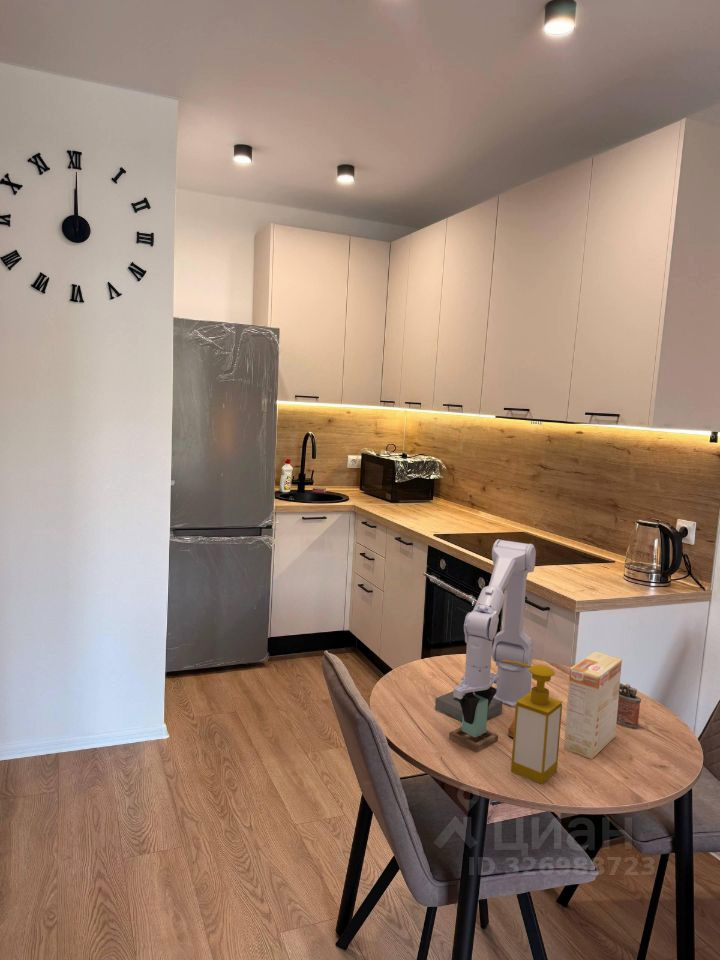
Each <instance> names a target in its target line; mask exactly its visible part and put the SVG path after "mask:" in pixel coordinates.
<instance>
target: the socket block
mask: <svg viewBox="0 0 720 960" xmlns="http://www.w3.org/2000/svg"><path fill="white" fill-rule="evenodd" d="M453 694H454V690H452V691H451V692H447V693H444V694H442V695H440V696H438V697H435V702H434V703H435V705H434V709H435V711H437V712H440V713H442V714H443V715H446V716H448V717H450V718H452V719H454V720H456V721H459V722H460V723H462V717H463V712H462V708H461V705H460V702H459V700H458V698H456V697H454V696H453ZM473 694H475V693H474V692H473ZM503 706H504V703H503V702H501V701H499V700H497V699H494V698H492V700H491V702H490V705H489V707H488V710H487V721H488V720H489V721H490V720H491V719H492V718H496V717H497V716H500V715H501V714H503Z"/></svg>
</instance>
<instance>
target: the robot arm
mask: <svg viewBox="0 0 720 960" xmlns="http://www.w3.org/2000/svg"><path fill="white" fill-rule="evenodd" d="M536 556H537V551H536V547H535V545H534V544H533V543H525V542H517V541H511V540H503V539H496V540H495V542H494V543H493V546H492V549H491V559H492V564H493V566H494V567H493V570H492V573H491V576H490V581H489V583H488V585H487V586H484V587H483V588H482V589H481V591H480V594H479V595H478V597H477V601H476V603H475V605H474V607H473V610H471V612H470V611H469V612H468V613H466V615H465V619H464V624H463V632H464V643H466V651H465V652H466V655H465V669H464V675H463V676H461V678H460V679H461V682H460V683H459V684H458V685H457V686H456V687H453V691H454V694H453V696H454V697H456V698H458V700H459V702H460V705H461V708H462V712H463V717H464V722H467V723H469V724H473V721H474V717H475V710H476V707H477V704H478V702H479V700H480V698H478V697H476V696H474V694H473V692H474V693H475V694H477V695H479V696H481V697H484V698H486V699H488V707H489V705H490V702H491V700H492V698H494V699H497V700H499V701H501V702H503V704H506V705H508V706H510V707H516V704H517V703H516V701H518V700H519V699H521V698H522V697H523V696H525V695H526V694H528V693H529V692H531V689H532V679H533V678H532V673H530V672H529V667H526V666H523V665H519V664H513V663H504V662H503V660H506V661H515V662H520V663H523V664H527V665H530V666H532V663H533V659H534V647H533V645H534V644H533V639H532V638H531V637H530V635H528V634H527V633H526V632H525V631H524V620H525V604H526V601H525V600H526V590H527V578H528V573H529V574H530V573H533V572H534V571H535V567H536V558H537V557H536ZM505 588H506V596H505V593H504V591H505ZM505 600H506V601H505ZM504 602H505V617H504V629H502V630H500V631H498V625H499V620H500V618H499V615H500V613H501V610H502V607H503V604H504ZM497 631H498V632H497ZM492 660H493V662H495V666H496V667H497V671H496V673H494V672H491V669H492ZM493 684H495V686H496V687H494V686H492V685H493Z"/></svg>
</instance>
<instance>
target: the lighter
mask: <svg viewBox="0 0 720 960" xmlns="http://www.w3.org/2000/svg"><path fill="white" fill-rule="evenodd" d="M637 691H638V689H637V688H635V687H632V686H631V685H630V684H628V683H626V684H623V683H622V682H620V687H619V699H618V711H617V722H616V725H618V726H621V727H623V728H628V729H632V730H638V729H639V728H640V727H639V726H640V725H639V720H640V719H639V718H640V717H639V716H640V707H641V703H642V698H641V697H640V696H638V695H637V693H638V692H637Z"/></svg>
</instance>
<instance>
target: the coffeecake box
mask: <svg viewBox="0 0 720 960" xmlns="http://www.w3.org/2000/svg"><path fill="white" fill-rule="evenodd" d="M622 661H623V659H622V658H619V657H615V656H611V655H609V654H606V653H602V652H599V651H594V652H592V653H590V654H589V655H587V656H586V657H585V658H583V659H581V660H579V662H577V663H576V664H575V665H574V664H573V666H571V667H570V668H569V678H568V689H567V691H568V692H567V703H566V704H567V705H566V706H567V707H566V716H565V728H564V729H565V730H564V731H565V732H564V741H563V742H564V744H563V749H564V750H565V751H569V752H570V753H574V754H577V755H579V756H582V757H584V758H587V759H589V760H593V758H595V757H596V756H597V755H598V754H599V753H600V752H601V751H602V750H603V749H604V748H605V747H606V746H607V745H608V744H609V743H610V742H611V741H613V739H614V738H616V731H617V724H616V722H617V711H618V699H619V687H620V683H621V677H622V676H621V674H622Z"/></svg>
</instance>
